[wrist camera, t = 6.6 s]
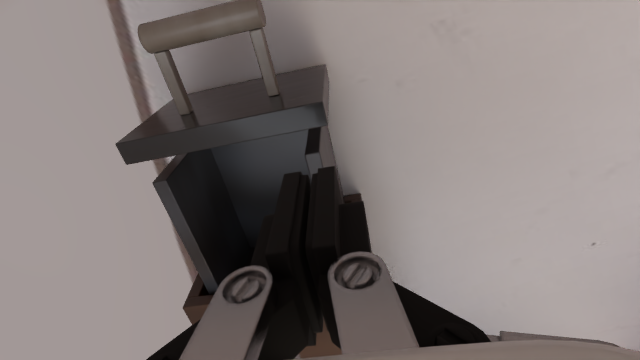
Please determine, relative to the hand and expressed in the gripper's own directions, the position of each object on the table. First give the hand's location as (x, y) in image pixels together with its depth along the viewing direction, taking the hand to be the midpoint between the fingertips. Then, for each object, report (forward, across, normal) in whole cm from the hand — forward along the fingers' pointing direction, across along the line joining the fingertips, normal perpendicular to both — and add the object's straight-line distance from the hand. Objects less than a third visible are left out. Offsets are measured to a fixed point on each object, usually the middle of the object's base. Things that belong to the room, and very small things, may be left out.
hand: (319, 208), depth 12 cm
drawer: (+14, +5, +3) cm, 15 cm away
